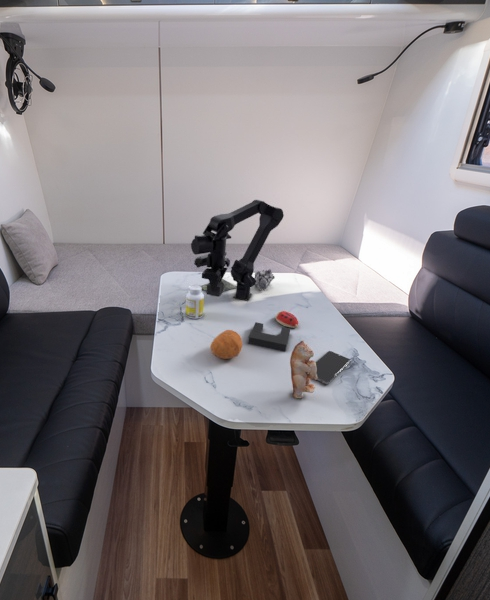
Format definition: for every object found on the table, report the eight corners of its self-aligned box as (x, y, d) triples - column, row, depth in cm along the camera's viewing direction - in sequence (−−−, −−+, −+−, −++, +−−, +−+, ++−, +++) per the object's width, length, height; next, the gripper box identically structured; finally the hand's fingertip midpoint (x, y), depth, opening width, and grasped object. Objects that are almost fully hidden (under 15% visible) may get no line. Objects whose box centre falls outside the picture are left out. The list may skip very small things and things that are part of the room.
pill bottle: (203, 312, 143) (204, 284, 138) (202, 320, 137) (204, 291, 132) (186, 310, 143) (187, 283, 138) (184, 318, 138) (185, 290, 133)
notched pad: (254, 328, 132) (255, 322, 131) (289, 335, 128) (290, 328, 127) (248, 343, 123) (248, 337, 122) (285, 351, 119) (286, 344, 118)
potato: (248, 354, 117) (251, 334, 114) (225, 368, 110) (227, 347, 107) (226, 342, 123) (227, 323, 120) (203, 355, 116) (204, 335, 113)
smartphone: (303, 371, 108) (329, 349, 118) (303, 374, 109) (328, 352, 119) (328, 383, 103) (352, 359, 113) (327, 386, 104) (351, 362, 114)
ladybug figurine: (283, 315, 142) (285, 307, 140) (303, 326, 134) (305, 318, 132) (270, 319, 138) (271, 310, 137) (289, 331, 131) (291, 322, 129)
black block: (210, 289, 151) (211, 280, 149) (222, 291, 149) (223, 282, 147) (206, 294, 147) (207, 285, 145) (219, 296, 145) (219, 287, 143)
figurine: (310, 405, 97) (320, 357, 90) (281, 394, 100) (289, 347, 94) (315, 392, 102) (326, 345, 95) (288, 382, 105) (296, 336, 99)
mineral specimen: (266, 288, 155) (267, 264, 157) (246, 289, 161) (247, 267, 163) (279, 293, 164) (280, 271, 166) (260, 294, 170) (261, 273, 172)
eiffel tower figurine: (222, 280, 172) (224, 252, 166) (238, 287, 165) (241, 258, 159) (197, 287, 164) (199, 258, 158) (213, 295, 157) (215, 265, 151)
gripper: (205, 241, 151) (203, 277, 157) (189, 254, 135) (187, 294, 142) (231, 244, 147) (228, 281, 154) (218, 259, 131) (216, 299, 138)
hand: (215, 288), depth 147 cm, fingers closed on black block, 5 cm apart
